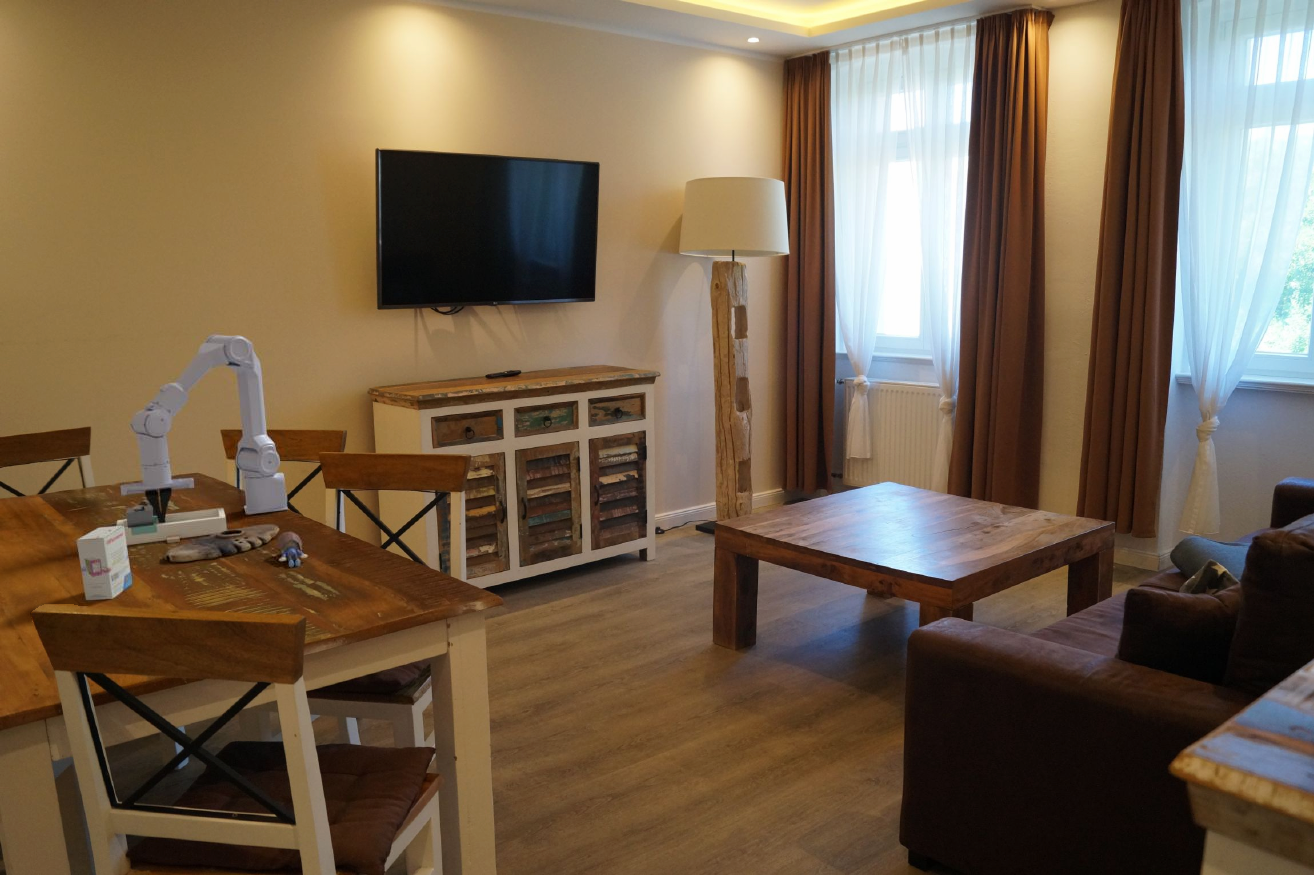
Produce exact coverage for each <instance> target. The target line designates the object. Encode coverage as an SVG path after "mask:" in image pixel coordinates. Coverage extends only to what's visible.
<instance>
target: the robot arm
mask: <svg viewBox="0 0 1314 875" xmlns="http://www.w3.org/2000/svg"><path fill="white" fill-rule="evenodd" d="M261 365H262V364H261V362H260V360H259V358H258V357H257V355H256V353H255V351H254V343H252V342H251V341H250V340H249V339H247V338H246V337H244V336H243V335H221V334H212V335H210V336H209V337H207V339H206V340H205V342H203V343H202V344H201V345H200V346H199V349H198V351H197V353H196V355H195V356H194V357H193V359H192V360H191V361H190V363H189V364H188V365H187V366H186V368H185V369H184V370H183V371H182V373H181V374H180V376H179V377H178V378H177V379H176V380H175V382H172V383H171V382H169V383H166V384H165V385H160V387H159V388H158V391H159V392H158V393H157V394H156V395H155V396H154V398H153V399H152V400H151V401H150V402H147V403H146V404H145V409H142V410H139V411H137V412H136V413H135V414H134V415H133V417H132V420H131V423H130V425H129V426H130V429H131V430H132V432H133V433H134V434H135V435H136V437H137V443H138V453H139V460H140V468H141V476H142V481H141V482H137V483H131V484H130V483H129V484H122V485H120V493H121V496H127V495H132V494H133V495H134V494H143V493H144V494H145V498H146V500H148V501H149V502H150V504H151V505H152V509H154V511H155V513H156V515H157V518H158V522H159V523H165V516H166V515H167V509H168V506H169V505H168V504H169V503H170V500H171V496H172V493H173V491H172V490H178V489H187V488H188V489H193V488H195V483H194V478H193V477H189V478H188V477H187V478H172V474H171V473H172V471H171V465H170V455H169V446H168V439H167V433H168V432H170V430H171V429H172V422H173V419H174V417H176V416H177V414H178V413H179V411H180V410H181V409H182V408H183V407H184V406H185V405H186V404H187V402H188V401H189V399H190V396H189V393H190V391H191V390H192V389H193V388H194V387H195V386H196V385H197V384H198V383H199V382H200V381H201V379H203V378H204V377H205V375H206V374H207V373H208V372H209V371H210V370H211V369H212V368H215V367H221V366H226V367H227V368H229V369H231V370H232V371H233V372H235V373H236V376H237V377H236V378H237V390H238V400H239V401H238V402H239V408H240V409H239V410H240V422H241V432H242V437H241V438H240V440H239V441H238V443H237V452H236V455H235V464H236V466H237V469H239V470H240V471H241V474H242V475H243V483H244V484H243V486H244V487H243V488H244V495H245V505H244V506H243V509H244V511H245V515H254V514H264V513H270V512H271V513H272V512H279V511H286V510H288V495H287V493H286V492H287V490H286V481H285V480H286V479H285V476H284V475H285V474H284V473H283V472H277V471H278V469H279V467H280V464H281V459H280V455H279V453H278V452H277V449H276V444H275V442H274V441H273V440H272V439H271V437H270V436H268V432H267V422H266V409H265V402H264V401H265V399H264V389H263V387H264V386H263V376H262V366H261Z"/></svg>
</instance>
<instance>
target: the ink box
mask: <svg viewBox="0 0 1314 875" xmlns="http://www.w3.org/2000/svg"><path fill="white" fill-rule="evenodd" d="M76 544H77V545H76V546H77V551H78V558H79V562H80V564H79V565H80V569H81V576H82V582H83V590H84V596H85V601H97V600H112V599H113V600H114V598H116V597H117V596H119V595H120V594H121V593H122V592H123V591H125V590H126V589H128V588H129V587H130V586H132V585H133V580H132V572H131V567H130V560H129V553H128V545H127V544H126V538H125V531H124V526H112V527H111V526H103V527H97V528H96V529H94V530H92V531H90V532H89V533H86V534H85V535H83V536H81V537H80V538H78V539H76Z"/></svg>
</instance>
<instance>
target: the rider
mask: <svg viewBox="0 0 1314 875" xmlns="http://www.w3.org/2000/svg"><path fill="white" fill-rule="evenodd" d="M138 505H139V504H138ZM138 505H134V506H133V507H132V506H131V507H127V508H126V512H125V515H126V519H127V524H128V528H132V527H140V526H149V525H154V518H153V510H152V509H153V507H152V505H150V506H144V505H139V506H138Z"/></svg>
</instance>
